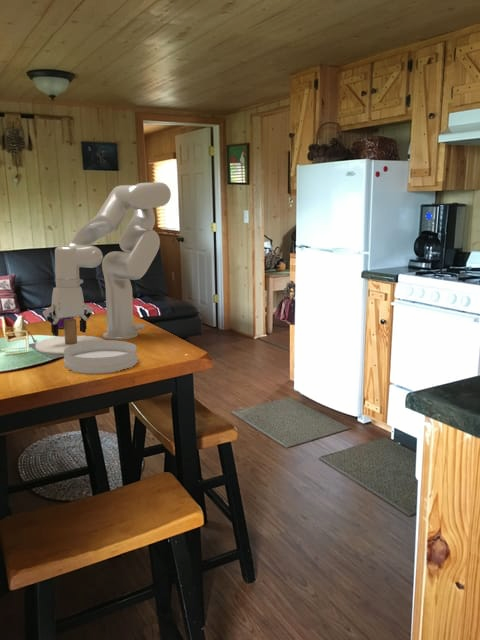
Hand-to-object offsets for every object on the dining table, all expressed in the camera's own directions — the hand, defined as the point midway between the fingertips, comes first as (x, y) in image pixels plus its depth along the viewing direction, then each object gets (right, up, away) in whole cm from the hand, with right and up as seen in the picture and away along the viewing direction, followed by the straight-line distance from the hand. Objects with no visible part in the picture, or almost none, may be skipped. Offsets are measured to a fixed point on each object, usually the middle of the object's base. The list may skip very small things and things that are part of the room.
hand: (69, 333), depth 185 cm
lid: (0, -4, +1) cm, 4 cm away
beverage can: (-12, +2, +33) cm, 36 cm away
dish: (+15, -9, -17) cm, 25 cm away
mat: (0, -5, +1) cm, 5 cm away
